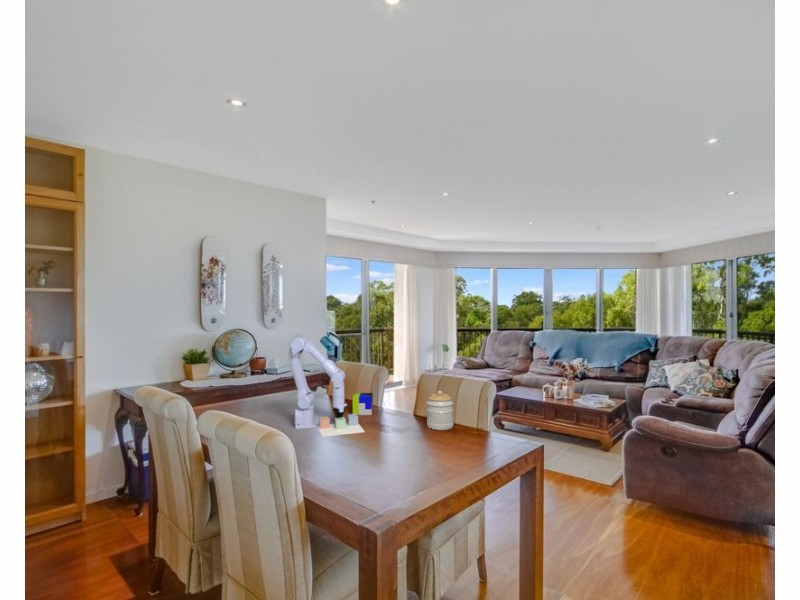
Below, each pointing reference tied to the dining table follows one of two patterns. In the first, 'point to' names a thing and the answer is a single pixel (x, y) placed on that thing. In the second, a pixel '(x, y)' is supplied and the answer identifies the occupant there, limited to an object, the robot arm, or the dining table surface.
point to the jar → (440, 411)
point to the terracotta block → (324, 422)
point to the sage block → (340, 423)
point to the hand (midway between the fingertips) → (338, 423)
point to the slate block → (352, 419)
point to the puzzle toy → (363, 403)
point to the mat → (333, 431)
